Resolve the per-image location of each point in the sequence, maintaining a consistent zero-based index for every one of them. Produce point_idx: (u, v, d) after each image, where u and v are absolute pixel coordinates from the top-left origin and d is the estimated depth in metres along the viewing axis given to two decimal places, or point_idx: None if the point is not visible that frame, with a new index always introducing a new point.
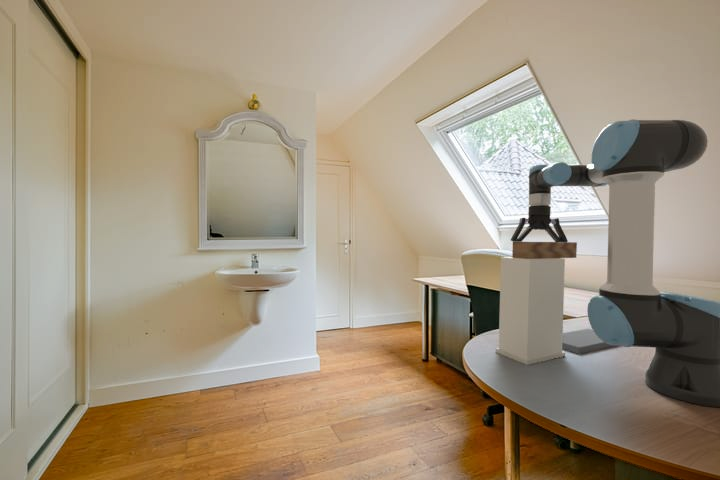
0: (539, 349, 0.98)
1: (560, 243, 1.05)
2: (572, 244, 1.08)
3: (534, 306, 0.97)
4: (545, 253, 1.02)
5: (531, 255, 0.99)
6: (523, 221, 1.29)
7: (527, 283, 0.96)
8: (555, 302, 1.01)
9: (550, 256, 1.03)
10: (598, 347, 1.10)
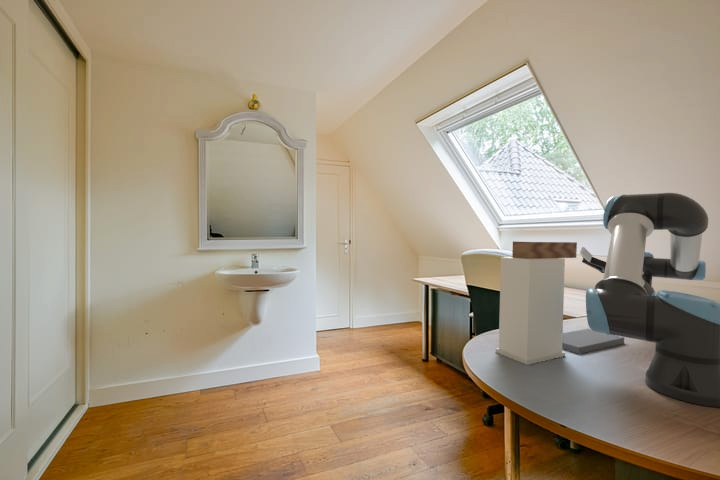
0: (539, 349, 0.98)
1: (560, 243, 1.05)
2: (572, 244, 1.08)
3: (534, 306, 0.97)
4: (545, 253, 1.02)
5: (531, 255, 0.99)
6: None
7: (527, 283, 0.96)
8: (555, 302, 1.01)
9: (550, 256, 1.03)
10: (598, 347, 1.10)
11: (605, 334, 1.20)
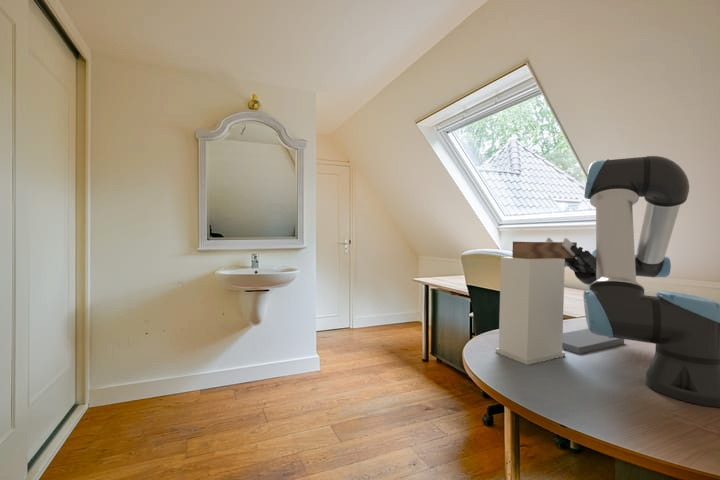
0: (539, 349, 0.98)
1: (560, 243, 1.05)
2: None
3: (534, 306, 0.97)
4: (545, 253, 1.02)
5: (531, 255, 0.99)
6: None
7: (527, 283, 0.96)
8: (555, 302, 1.01)
9: (550, 256, 1.03)
10: (598, 347, 1.10)
11: None
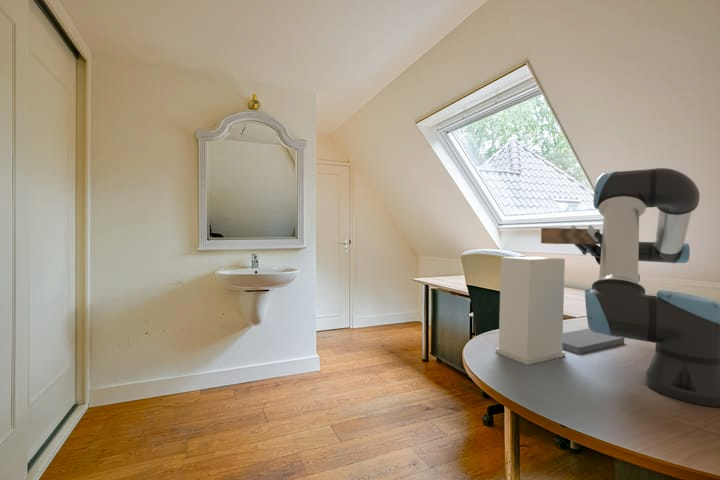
0: (539, 349, 0.98)
1: (585, 230, 1.12)
2: None
3: (534, 306, 0.97)
4: (572, 239, 1.09)
5: (559, 241, 1.06)
6: None
7: (527, 283, 0.96)
8: (555, 302, 1.01)
9: (576, 242, 1.10)
10: (598, 347, 1.10)
11: None
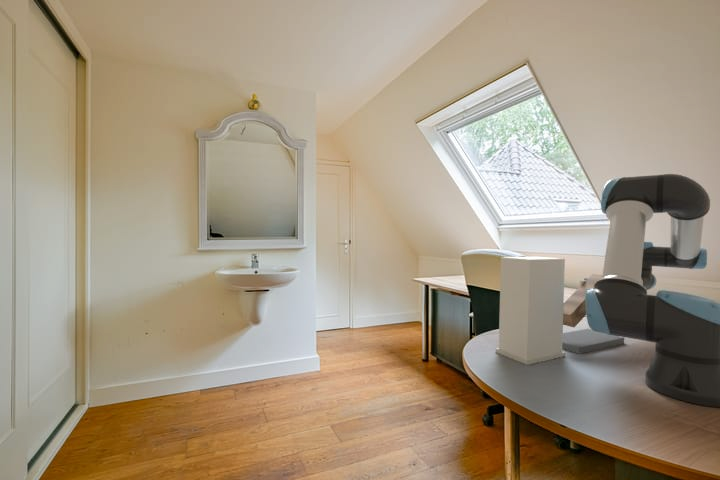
0: (539, 349, 0.98)
1: None
2: None
3: (534, 306, 0.97)
4: None
5: (576, 321, 1.10)
6: None
7: (527, 283, 0.96)
8: (555, 302, 1.01)
9: None
10: (598, 347, 1.10)
11: (605, 334, 1.20)
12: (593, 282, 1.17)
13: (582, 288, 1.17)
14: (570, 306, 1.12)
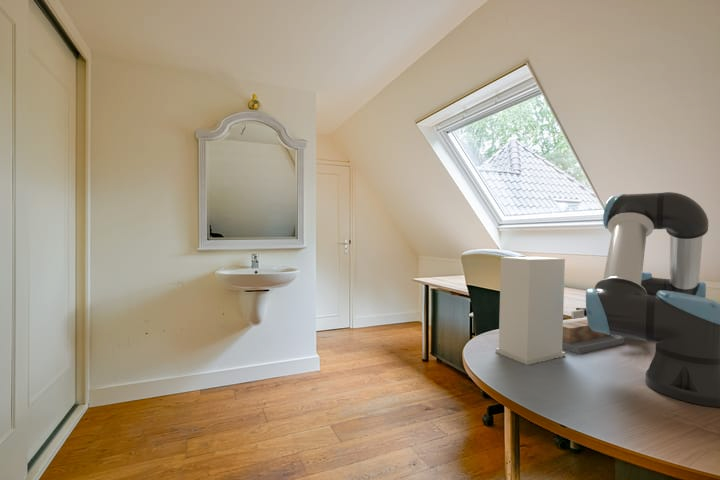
0: (539, 349, 0.98)
1: None
2: None
3: (534, 306, 0.97)
4: (585, 336, 1.12)
5: (573, 340, 1.09)
6: None
7: (527, 283, 0.96)
8: (555, 302, 1.01)
9: (589, 338, 1.13)
10: (598, 347, 1.10)
11: None
12: None
13: (585, 321, 1.18)
14: (570, 325, 1.12)
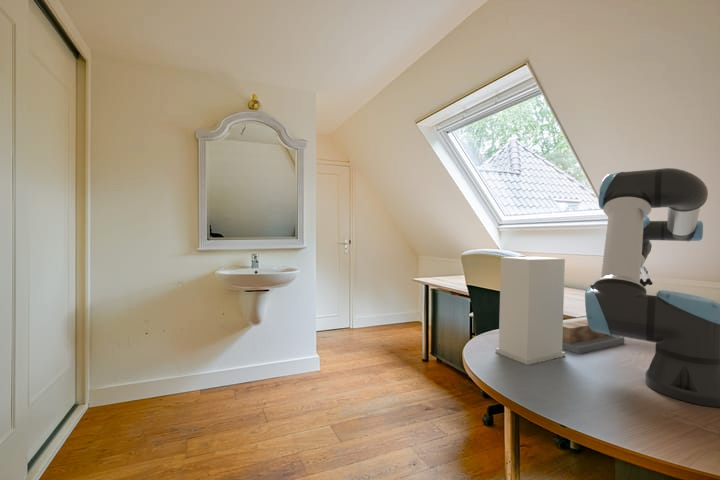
0: (539, 349, 0.98)
1: None
2: None
3: (534, 306, 0.97)
4: (585, 336, 1.12)
5: (573, 340, 1.09)
6: None
7: (527, 283, 0.96)
8: (555, 302, 1.01)
9: (589, 338, 1.13)
10: (598, 347, 1.10)
11: None
12: None
13: (585, 321, 1.18)
14: (570, 325, 1.12)
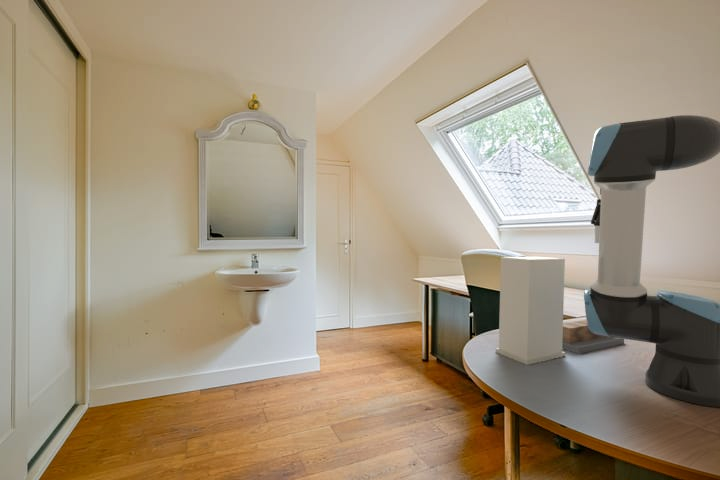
0: (539, 349, 0.98)
1: None
2: None
3: (534, 306, 0.97)
4: (585, 336, 1.12)
5: (573, 340, 1.09)
6: (597, 203, 1.25)
7: (527, 283, 0.96)
8: (555, 302, 1.01)
9: (589, 338, 1.13)
10: (598, 347, 1.10)
11: None
12: None
13: (585, 321, 1.18)
14: (570, 325, 1.12)
